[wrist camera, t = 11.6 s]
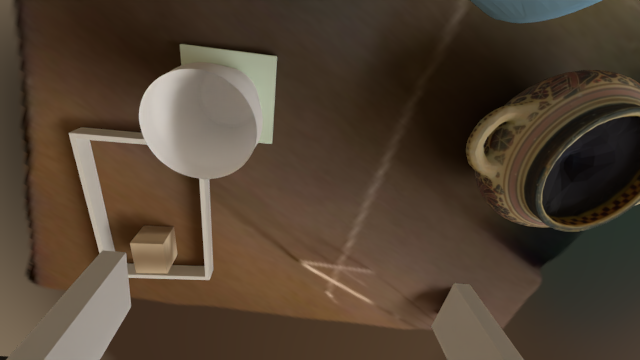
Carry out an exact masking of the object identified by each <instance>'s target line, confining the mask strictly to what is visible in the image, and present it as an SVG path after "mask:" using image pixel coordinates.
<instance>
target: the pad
mask: <svg viewBox="0 0 640 360" xmlns="http://www.w3.org/2000/svg"><path fill="white" fill-rule="evenodd" d="M180 55H181V65H184V64H188V63H195V62H206V63H213V64H218V65H222V66H227V67H231V68H235V69H237V70H240V71H241V72H243V73H245V74H246V75H247V76H248V77H249V78H250V79H251V80H252V81H253V83H254V85H255V86H256V89H257V91H258V95H259V100H260V105H261V110H262V118H263V125H262V132H261V136H260V139H259V141H258V143H267V144H272V139H273V121H274V104H275V86H276V68H277V56H274V55H266V54H259V53H251V52H243V51H235V50H227V49H220V48H212V47H204V46H196V45H188V44H180Z"/></svg>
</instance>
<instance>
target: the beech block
mask: <svg viewBox="0 0 640 360" xmlns="http://www.w3.org/2000/svg"><path fill="white" fill-rule="evenodd" d="M130 246H131V251H132V256H133V260H134V265H135V270H136V273H164V274H167V273H168V272H169V270H170V268H171V266H172V264H173V262H174V260H175V258H176V256H177V248H176V240H175V232H174V227H168V226H143V227H142V228H141V230H140V231H139V232H138V233H137V235H136V236H135V237H134V239H133V240H132V241H131V242H130Z"/></svg>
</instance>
